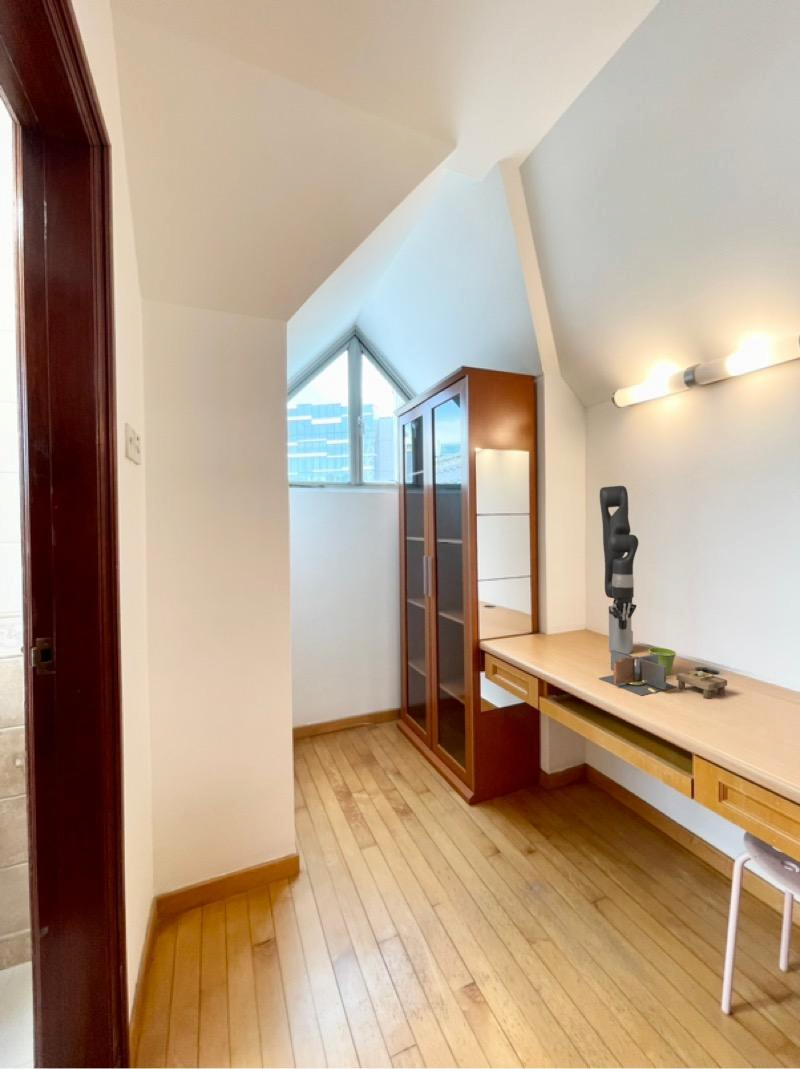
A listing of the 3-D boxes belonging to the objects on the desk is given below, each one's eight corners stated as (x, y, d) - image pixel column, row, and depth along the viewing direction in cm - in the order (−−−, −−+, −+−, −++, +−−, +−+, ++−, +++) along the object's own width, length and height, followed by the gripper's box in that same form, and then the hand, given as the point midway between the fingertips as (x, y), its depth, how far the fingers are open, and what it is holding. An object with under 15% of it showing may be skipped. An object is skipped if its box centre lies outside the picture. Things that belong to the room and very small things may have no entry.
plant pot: (681, 677, 167) (681, 654, 166) (656, 677, 167) (656, 654, 167) (668, 669, 176) (668, 647, 176) (644, 668, 177) (644, 647, 176)
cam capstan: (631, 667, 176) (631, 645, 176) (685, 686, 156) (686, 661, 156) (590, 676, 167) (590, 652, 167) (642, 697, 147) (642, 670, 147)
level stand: (694, 683, 160) (694, 664, 160) (727, 694, 150) (727, 673, 150) (676, 688, 156) (676, 668, 156) (708, 699, 146) (708, 678, 146)
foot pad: (632, 671, 174) (632, 669, 173) (678, 687, 156) (678, 685, 156) (598, 678, 166) (598, 676, 166) (642, 696, 149) (642, 694, 149)
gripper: (626, 583, 178) (626, 625, 178) (602, 585, 173) (602, 628, 173) (643, 585, 171) (643, 629, 171) (618, 587, 166) (618, 633, 166)
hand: (622, 629), depth 172 cm, fingers closed
